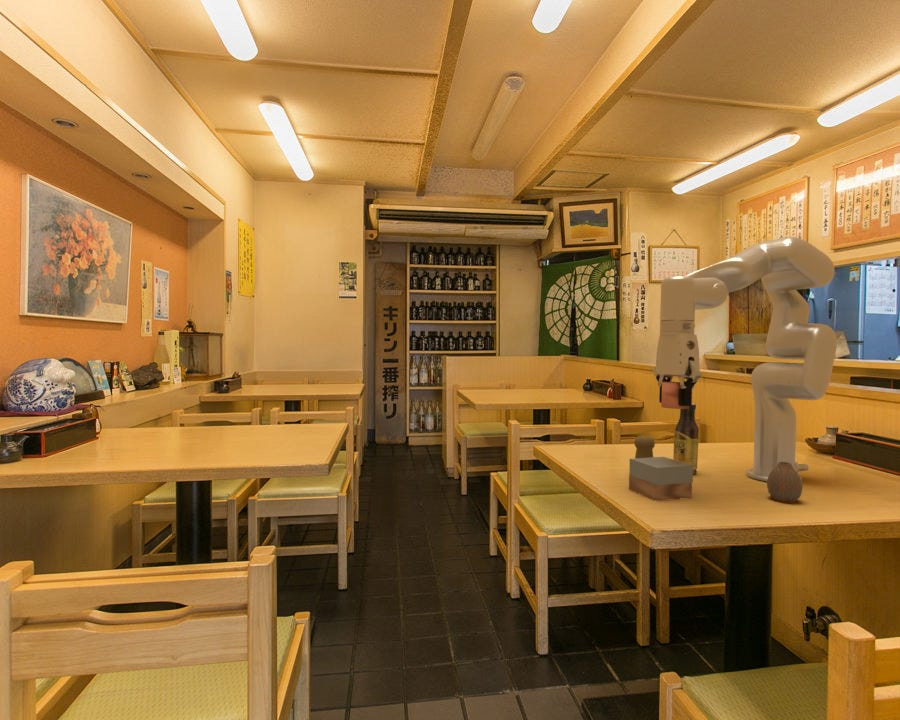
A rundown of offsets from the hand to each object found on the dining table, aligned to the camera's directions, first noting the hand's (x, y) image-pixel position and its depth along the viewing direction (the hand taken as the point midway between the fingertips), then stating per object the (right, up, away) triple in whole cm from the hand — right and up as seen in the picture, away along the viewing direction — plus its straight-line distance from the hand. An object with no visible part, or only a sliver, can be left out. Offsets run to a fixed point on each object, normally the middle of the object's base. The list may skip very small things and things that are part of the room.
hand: (675, 403), depth 119 cm
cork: (-1, -22, +18) cm, 28 cm away
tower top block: (-3, -18, +1) cm, 18 cm away
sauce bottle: (+13, -22, +22) cm, 33 cm away
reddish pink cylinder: (0, -1, 0) cm, 1 cm away
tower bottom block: (-3, -22, +1) cm, 23 cm away
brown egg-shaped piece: (+24, -22, -3) cm, 33 cm away
